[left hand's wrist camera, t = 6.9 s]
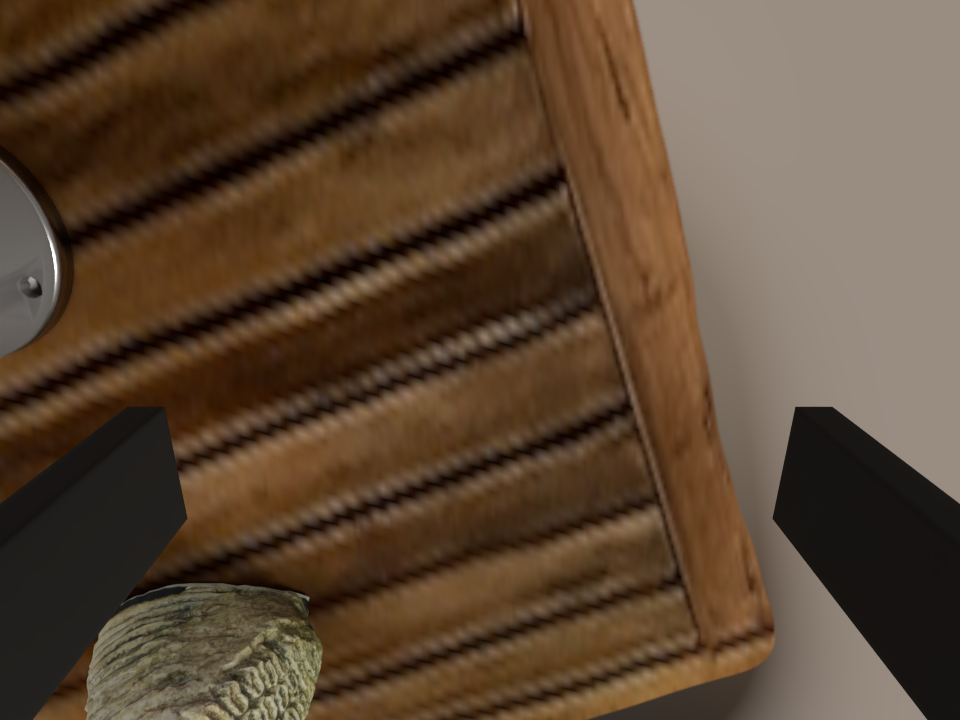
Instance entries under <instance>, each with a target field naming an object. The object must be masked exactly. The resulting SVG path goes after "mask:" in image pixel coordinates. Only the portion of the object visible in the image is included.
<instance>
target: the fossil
mask: <svg viewBox="0 0 960 720" xmlns="http://www.w3.org/2000/svg"><path fill="white" fill-rule="evenodd" d="M308 601H309V597H307V596H304V595H302V594H299V593H296V592H292V591H281V590H276V589H271V588H266V587H255V586H248V585H240V586H235V585H229V584H224V583H187V584H175V585H169V586H165V587H162V588H159V589H156V590H152V591H149V592H147V593H146V594H144V595H138V596H135V597H133V598H131V599H129V600H127V601H126V602H124V603H122V604H121V606H120V608H119V609H118V610H117V612H116V613H115V614H114V615H113V616H112V617H111V619H110V620H109V621H108V622H107V624H106V625H105V626H104V628H103V629H102V630H101V632H100V633H99V636H98V641H97V643H96V644H95V645H94V651H93V657H92V661H91V664H90V666H89V667H90V669H89V671H88V673H89V676H88V679H87V689H88V700H87V705H86V707H85V709H84V710H85V711H87V712H88V714H87V718H86V720H304V719H305V717H306V716H307V714H308V709H309V707H310V702H311V700H312V698H313V695H314V691H315V687H316V683H317V679H318V676H319V672H320V667H321V662H322V654H323V646H322V643H321V639H320V637H319V636H318V635H317V634H316V632H315V631H314V629H313V628H312V626H311V625H310V623H309V620H308V619H307V618H308V608H307V604H308Z"/></svg>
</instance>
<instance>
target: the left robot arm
mask: <svg viewBox="0 0 960 720" xmlns="http://www.w3.org/2000/svg"><path fill="white" fill-rule="evenodd" d="M73 275H74V268H73V256H72V249H71V245H70V241H69V237H68V234H67V231H66V228H65V225H64V223H63V221H62V218H61V216H60V214H59V212H58V210H57V208H56V207H55V205H54V203H53V201H52V200H51V198H50V197H49V195H48V194H47V192H46V191H45V189H44V188H43V187H42V185H41V184H40V183H39V181H38V180H37V179H36V178H35V177H34V176H33V175H32V173H31V172H30V171H29V170H28V169H27V168H26V167H25V166H24V165H23V164H22V163H21V162H20V161H18V160H17V159H16V158H15V157H14V156H13V155H11V154H10V153H9V152H8V151H6V150H5V149H3V148H2V147H1V146H0V358H2V357H4V356H7V355H9V354H11V353H14V352H16V351H18V350H20V349H22V348H24V347H27V346H29V345H31V344H33V343H34V342H36V341H38V340H39V339H41V338H42V337H43V336H45V335H46V334H47V333H48V332H49V331H50V330H51V329H52V328H53V327H54V326H55V325H56V323H57V322H58V321H59V319H60V318H61V316H62V315H63V313H64V311H65V309H66V307H67V304H68V302H69V298H70V295H71V291H72V286H73ZM186 520H187V514H186V509H185V505H184V500H183V495H182V490H181V485H180V480H179V475H178V470H177V466H176V461H175V456H174V451H173V446H172V441H171V436H170V431H169V426H168V422H167V417H166V412H165V407H127V408H126V409H124V410H123V411H122V412H120V413H119V414H118V415H116V416H115V417H114V418H112V419H111V420H110V421H108V422H107V423H106V424H105V425H103V426H102V427H101V428H99V429H98V430H97V431H95V432H94V433H93V434H91V435H90V436H89V437H87V438H86V439H85V440H84V441H82V442H81V443H80V444H78V445H77V446H76V447H74V448H73V449H72V450H70V451H69V452H68V453H66V454H65V455H64V456H63V457H61V458H60V459H59V460H57V461H56V462H55V463H53V464H52V465H51V466H49V467H48V468H47V469H45V470H44V471H43V472H42V473H40V474H39V475H38V476H36V477H35V478H34V479H32V480H31V481H30V482H28V483H27V484H26V485H24V486H23V487H22V488H21V489H19V490H18V491H17V492H15V493H14V494H13V495H11V496H10V497H9V498H7V499H6V500H5V501H3V502H2V503H1V504H0V720H33V719H34V717H35V716H36V715H37V713H38V712H39V711H40V709H41V708H42V707H43V706H44V704H45V703H46V702H47V700H48V699H49V698H50V696H51V695H52V694H53V693H54V691H55V690H56V689H57V687H58V686H59V685H60V683H61V682H62V681H63V680H64V678H65V677H66V676H67V674H68V673H69V672H70V670H71V669H72V668H73V667H74V665H75V664H76V663H77V661H78V660H79V659H80V657H81V656H82V655H83V654H84V652H85V651H86V650H87V648H88V647H89V646H90V645H91V643H92V642H93V641H94V639H95V638H96V637H97V635H98V634H99V633H100V632H101V630H102V629H103V628H104V626H105V625H106V624H107V622H108V621H109V620H110V619H111V617H112V616H113V615H114V613H115V612H116V611H117V609H118V608H119V607H120V606H121V604H122V603H123V602H124V600H125V599H126V598H127V596H128V595H129V594H130V593H131V591H132V590H133V589H134V587H135V586H136V585H137V583H138V582H139V581H140V580H141V578H142V577H143V576H144V574H145V573H146V572H147V570H148V569H149V568H150V567H151V565H152V564H153V563H154V561H155V560H156V559H157V557H158V556H159V555H160V554H161V552H162V551H163V550H164V548H165V547H166V546H167V544H168V543H169V542H170V541H171V539H172V538H173V537H174V535H175V534H176V533H177V531H178V530H179V529H180V528H181V526H182V525H183V524H184V522H185V521H186ZM773 520H774V521H775V522H776V524H777V525H778V526H779V528H780V529H781V530H782V531H783V533H784V534H785V535H786V537H787V538H788V539H789V541H790V542H791V543H792V544H793V546H794V547H795V548H796V550H797V551H798V552H799V553H800V555H801V556H802V557H803V559H804V560H805V561H806V563H807V564H808V565H809V567H810V568H811V569H812V570H813V572H814V573H815V574H816V576H817V577H818V578H819V580H820V581H821V582H822V583H823V585H824V586H825V587H826V589H827V590H828V591H829V593H830V594H831V595H832V596H833V598H834V599H835V600H836V602H837V603H838V604H839V606H840V607H841V608H842V609H843V611H844V612H845V613H846V615H847V616H848V617H849V618H850V620H851V621H852V622H853V624H854V625H855V626H856V628H857V629H858V630H859V632H860V633H861V634H862V635H863V637H864V638H865V639H866V641H867V642H868V643H869V644H870V646H871V647H872V648H873V650H874V651H875V652H876V654H877V655H878V656H879V657H880V659H881V660H882V661H883V663H884V664H885V665H886V667H887V668H888V669H889V670H890V672H891V673H892V674H893V676H894V677H895V678H896V680H897V681H898V682H899V683H900V685H901V686H902V687H903V689H904V690H905V691H906V693H907V694H908V695H909V696H910V698H911V699H912V700H913V702H914V703H915V704H916V706H917V707H918V708H919V709H920V711H921V712H922V713H923V715H924V716H925V717H926V719H927V720H960V504H959V503H958V502H957V501H955V500H954V499H953V498H951V497H950V496H949V495H947V494H946V493H945V492H943V491H942V490H941V489H939V488H938V487H937V486H936V485H934V484H933V483H932V482H930V481H929V480H928V479H926V478H925V477H924V476H922V475H921V474H920V473H918V472H917V471H916V470H915V469H913V468H912V467H911V466H909V465H908V464H907V463H905V462H904V461H903V460H901V459H900V458H899V457H897V456H896V455H895V454H894V453H892V452H891V451H890V450H888V449H887V448H886V447H884V446H883V445H882V444H880V443H879V442H878V441H876V440H875V439H874V438H873V437H871V436H870V435H869V434H867V433H866V432H865V431H863V430H862V429H861V428H859V427H858V426H857V425H855V424H854V423H853V422H851V421H850V420H849V419H848V418H846V417H845V416H844V415H842V414H841V413H840V412H838V411H837V410H836V409H834V408H833V407H795V412H794V417H793V422H792V426H791V431H790V436H789V441H788V446H787V451H786V456H785V461H784V466H783V470H782V475H781V480H780V485H779V490H778V495H777V500H776V505H775V510H774V514H773Z"/></svg>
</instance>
